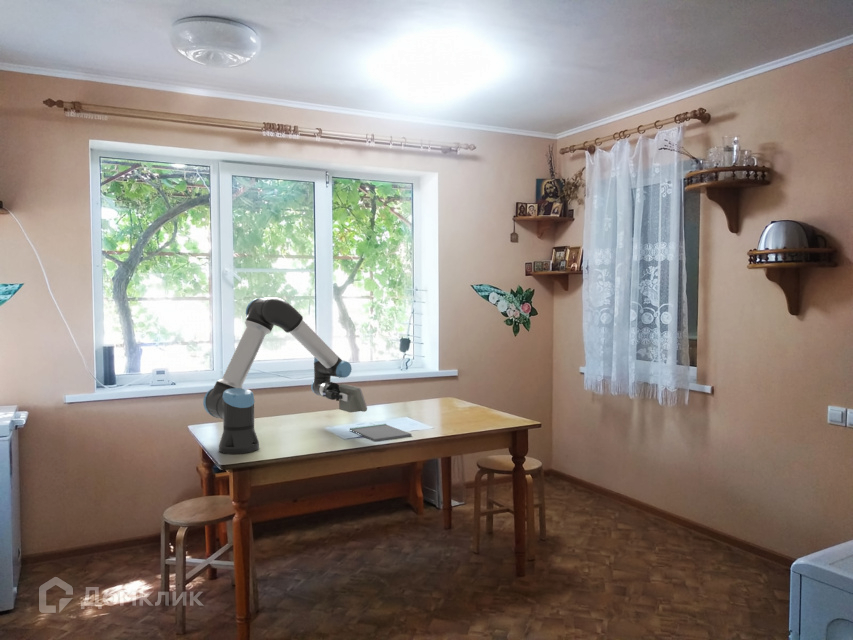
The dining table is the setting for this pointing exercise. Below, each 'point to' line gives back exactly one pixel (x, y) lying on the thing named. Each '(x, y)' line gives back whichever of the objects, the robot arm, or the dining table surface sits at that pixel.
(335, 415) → the dining table surface
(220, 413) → the robot arm
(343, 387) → the digital clock
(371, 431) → the docking pad
